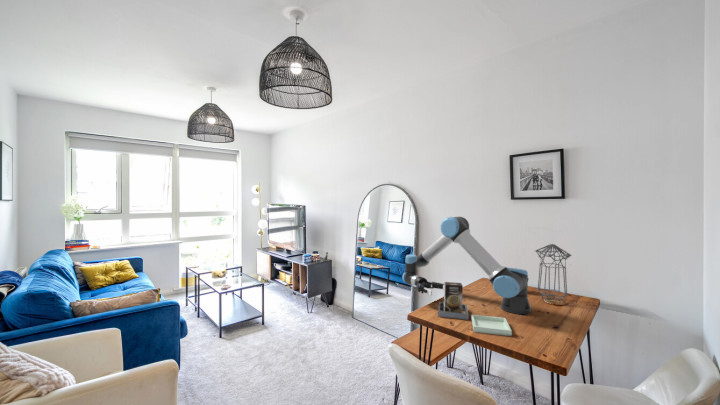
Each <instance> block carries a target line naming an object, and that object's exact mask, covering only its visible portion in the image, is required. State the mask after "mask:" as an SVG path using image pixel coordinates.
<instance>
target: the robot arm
mask: <svg viewBox="0 0 720 405" xmlns="http://www.w3.org/2000/svg"><path fill="white" fill-rule="evenodd" d="M440 231H441V233H442V235H441V236H439V238H437V239H436V240H435V241H434V242H433V243H431V244H430V245H429V246H428V247H427V248H426V249H424V251H422V253H420V254H419V255H417V254H406V256H405V261H404V262H405V264H404V265H405V268H404V269H405V272H403V274H402V276H401V277H402V281H403V283H404V284H407V285H410V286H411V287H414V288H415V289H416V290H417V292H418V293H421V294H426V295H428V296H432V295H433V289H437V290H438V289H439V290H442V291H444V283H440V282H435V281H428V280H427V278H425V277H423V276H421V275H418V274H417V273H418V268H422V267H426V266H427V265H429V264H430V262H431V261H432V260H433V259H434V258H435V257H437V256H438V255H439V254H440V253H441V252H443V251H444V250H445V249H446V248H448V247H449V246H450V245H451V244H452V243H454V244H459V246H460V247H461V248H462V249H463V250H464V251H465V252H466V253H467V254H468V255H469V256H470V257H471V259H472V260H474V262H475V263H476V264H477V265H478V266H479V267H480V269H482V270H483V272H484V273H485V274H486V275H487V276H488V281H489V282H490V284H492V286H493V290H494V292H495V293H496V295H498V296H499V297H501V298H502V300H501V302H500V309H501V310H503V311H505V312H507V313H511V314H517V315H528V314H531V312H532V307H531V304H530V302H529V298H528V290H529V289H528V288H529V287H528V285H529V284H528V283H529V279H528V278H529V273H528V271H527V270H526V269H523V268H522V269H521V268H515V267H507V266H504V265H503V266H502V265H501V264H500V263H499V262H498V261H497V260H496V259H495V258H494V257H493V256H492V255H491V253H490V252H489V251H488V250H486V249H485V247H484V246H483V245H482V244H481V243H480V242H479V241H478V240H477V239H476V238H475V237H474V236H473V235H472V234H471V230H470V224H469V221H468V220H467V219H466V218H465V217H464V216H449V217H446V218H444V219H443V220H442V222H441V224H440ZM431 289H432V290H431Z"/></svg>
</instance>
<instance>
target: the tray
mask: <svg viewBox="0 0 720 405" xmlns="http://www.w3.org/2000/svg"><path fill="white" fill-rule="evenodd" d="M470 317H471V319H470V320H471V326H472V330H473V333H481V334H489V335H498V336H506V337H512V335H513V334H512V329H511V326H510V325H509V323H508V321H507V319H506V317H501V316H500V317H499V316H491V315H488V316H487V315H480V314H471V316H470Z"/></svg>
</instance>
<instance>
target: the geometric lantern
mask: <svg viewBox="0 0 720 405" xmlns="http://www.w3.org/2000/svg"><path fill="white" fill-rule="evenodd" d="M534 252H536V253H537V255H538V258H540V260H541V261H540V262H539V270H538V280H537V282H538V283H537V292H538V293H539V294H540V295H541V299H542V298H543V299H544V298H545V299H547V301H548V300H549V301H550V300H557V298H558V299H559V300H560V301H561V300H562V301H563V299H564V298H567V297H568V286H567V285H568V284H567V267H566V265H567V264H566V260H568V259H569V258H571V257H572V254H571V253H569V252H567V251H566V250H564V249H563V248H561V247H559V246H558V245H556V244H554V243H549V244H547V245H545V246H543V247H541V248H538V249H535V250H534ZM551 253H552V254H551ZM556 253H557V255H555V254H556ZM542 255H543V256H542ZM546 257H548V258H551V259H552V260H553V262H552V263H550V262H548V263H545V258H546ZM556 258H559V259H556ZM562 260H564V264H563V263H562ZM557 262H558V263H557ZM548 265H549V266H548ZM552 265H554V266H552ZM543 267H545V272H544V285H543V286H544V288H543V289H542V288H541V284H542V274H543ZM547 268H548V288H546V284H547V281H546V280H547ZM552 268H554V283H553V286H554V287H553V289H552V291H553V293H552V294H551V289H550V288H551V287H550V286H551V284H550V282H551V281H550V279H551V277H550V274H551V273H550V270H551V269H552ZM560 269H562V273H563V276H562V277H563V289H564V291H563V292H564V293H563V292H562V291H561V290H560V288H561V287H560V286H561V285H560V283H561V282H560ZM557 270H558V271H557ZM557 273H558V274H557ZM556 275H558V277H557V276H556ZM556 278H558V290H557V289H556ZM542 291H543V292H542ZM546 291H548V294H547V293H546ZM555 292H556V293H555ZM554 293H555V294H554ZM558 293H561V294H562V295H558ZM556 297H557V298H556Z"/></svg>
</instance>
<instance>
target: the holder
mask: <svg viewBox="0 0 720 405" xmlns="http://www.w3.org/2000/svg"><path fill="white" fill-rule="evenodd" d="M441 309H444V301H443V302H441V301H438V309H437V317H439V318H448V319H457V320H465V321H469V310H468V305H467V304H463V303H462V311H464V312H462V313H459V312H450V311H444V310H441Z"/></svg>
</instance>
